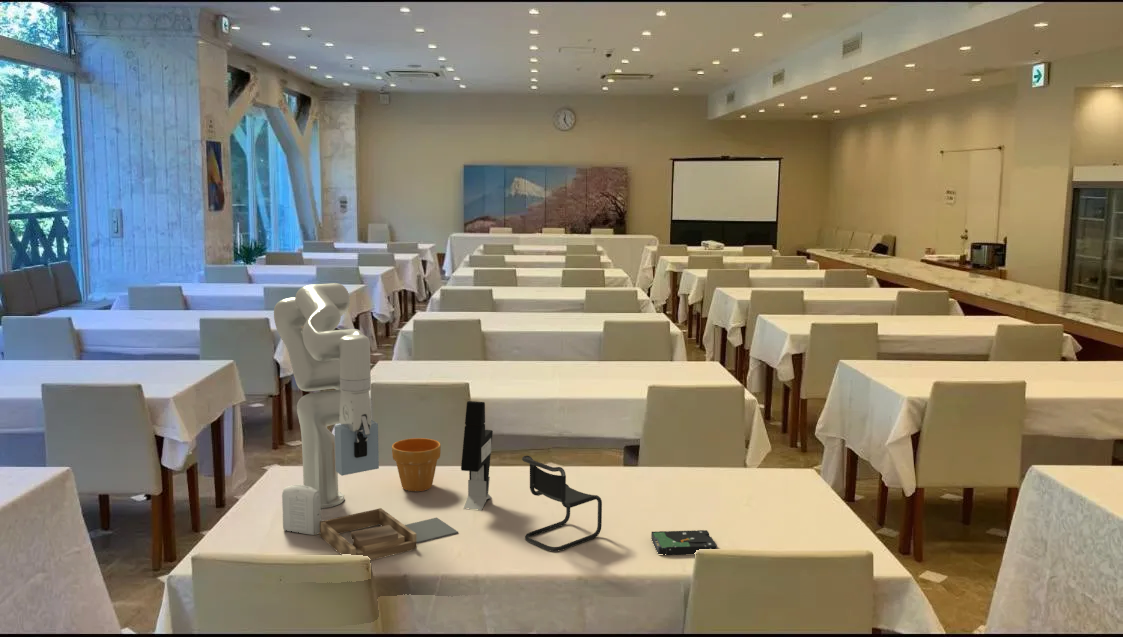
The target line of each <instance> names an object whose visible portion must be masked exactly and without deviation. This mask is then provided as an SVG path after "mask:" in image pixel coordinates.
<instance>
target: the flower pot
mask: <svg viewBox="0 0 1123 637" xmlns="http://www.w3.org/2000/svg"><path fill="white" fill-rule="evenodd" d="M391 453H392V459H393V461H394V462H395V463H396V467H397V472H398V475H399V480H400V484H401V488H402V487H403V488H402V489H403V490H404V489H405V490H404V491H407V490H408V492H422V491H423V492H424V491H428V490H430V489H432V487H433V484H434V478H435V474H436V468H437V462H438V460H439V459H440V458H441V443H440V441H438V440H436V439H431V438H422V437H414V438H406V439H405V438H404V439H401V440H398V441H396V442H394V443H392V446H391Z"/></svg>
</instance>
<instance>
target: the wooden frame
mask: <svg viewBox="0 0 1123 637" xmlns="http://www.w3.org/2000/svg"><path fill="white" fill-rule="evenodd" d="M378 524H379V525H380V527H381V526H386V525H390V526H391V527H392V528H393V529H394V530H395V531H396V532H398V533H400V534H401V535H403V536H404V537H405V542H404V543H400V544H396V545H392V546H388V547H384V548H380V549H376V550H372V551H367V552H363V553H359V554H356V548H355V547H354V546H353V545H351V544H352V543H350V542H349V541H348V540H347V539H345V538H344V537H343V536H342V535H341V534H344V533H347V532H353V531H358V530H359V529H360V530H362V529H364V528H365V529H367V528H370V527H373V526H379V525H378ZM405 525H406V524H404V523H403V522H401V521H400V520H398V519H397V518H395V517H394V516H393V515H391V514H390V513H388V512H387V511H386V510H384V509H383V508H381V507H379V508H376V509H371V510H367V511H362V512H357V513H352V514H348V515H344V516H339V517H335V518H334V517H333V518H330V519H325V520H321V521H320V533H319V537H320V536H321V537H320V538H322V540H324V541H325V542H326V543H327V545H329V544H330V545H331V546H330V545H329V546H330V547H332V548H333V549H334V551H336V550H337V551H336V552H337V553H338V552H339V553H341V554H351V555H363V556H368V557H369V558H370V559H371V560H370V561H374V560H378V559H381V558H385V556H386V557H390V556H393V554H394V555H398V554H402V553H405V552H409V551H414V550H417V549H418V548H417V547H418V546H417V545H418V543H417V540H416V533H415V532H413V531H412V530H411V529H409V528H408V527H406V526H405ZM369 526H370V527H369ZM339 553H338V554H339ZM341 554H340V555H341ZM389 555H390V556H389Z"/></svg>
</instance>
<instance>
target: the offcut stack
mask: <svg viewBox="0 0 1123 637" xmlns="http://www.w3.org/2000/svg"><path fill="white" fill-rule="evenodd" d="M350 539H351V540H352V543H350V544H351V545H353V546H354V547H355V548H356V554H359V553H363V552H367V551H372V550H376V549H380V548H384V547H388V546H392V545H396V544H400V543H404V542H405V537H404V536H403V535H401V534H400V533H398V532H396V531H395V530H394V529H393V528H392V527H391V526H390V525H386V526H381V525H380V526H376V527H372V528H371V527H369V528H365V529H364V528H363V529H360V530H359V529H358V530H352V531H350Z"/></svg>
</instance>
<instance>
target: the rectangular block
mask: <svg viewBox="0 0 1123 637" xmlns="http://www.w3.org/2000/svg"><path fill="white" fill-rule="evenodd" d="M359 429H362V427H360V428H359ZM333 430H334V436H335V466H336V472H337V473H338V475H340V476H348V475H351V474H352V475H353V474H357V473H362V472H363V473H364V472H367V471H369V472H370V471H372V470H378V469H379V468H380V464H379V463H380V460H379V459H380V458H379V454H380V453H379V452H380V451H379V422H376V421H374V420H373V419H371V428H370V429H369V431H370V435H369V436H368V437H367V439H368V440H367V456H364V457H358V458H356V457H355V456H354V442H356V440H355V432H352V431H350V430H349V428H348V427H346V426H345V425H343V424H334V429H333ZM360 434H362V432H359V435H360Z"/></svg>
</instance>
